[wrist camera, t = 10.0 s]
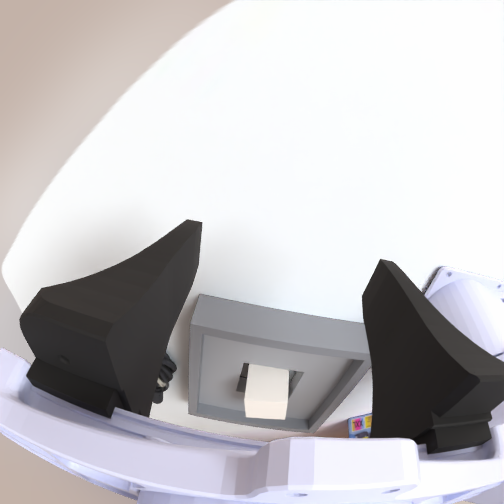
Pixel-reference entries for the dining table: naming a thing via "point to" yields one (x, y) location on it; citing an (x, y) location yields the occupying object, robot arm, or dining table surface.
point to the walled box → (272, 361)
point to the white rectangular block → (266, 392)
